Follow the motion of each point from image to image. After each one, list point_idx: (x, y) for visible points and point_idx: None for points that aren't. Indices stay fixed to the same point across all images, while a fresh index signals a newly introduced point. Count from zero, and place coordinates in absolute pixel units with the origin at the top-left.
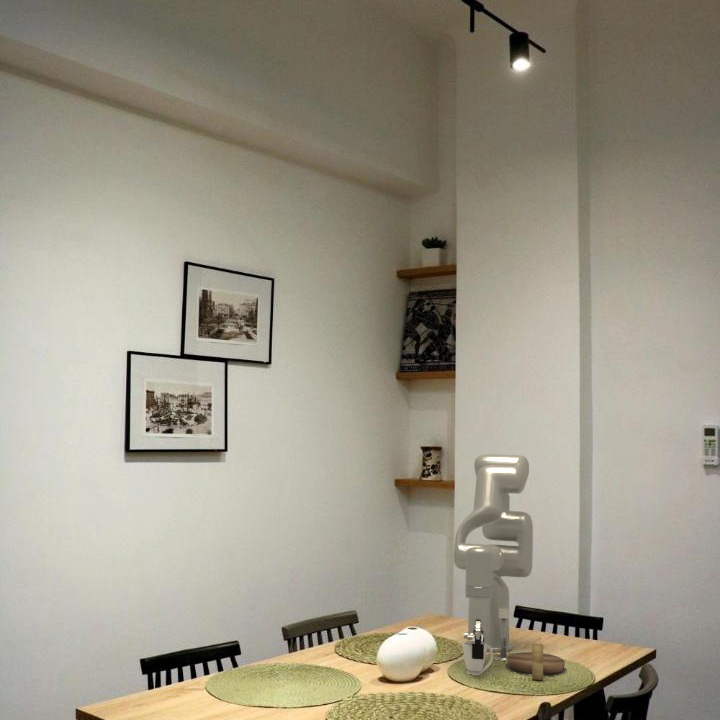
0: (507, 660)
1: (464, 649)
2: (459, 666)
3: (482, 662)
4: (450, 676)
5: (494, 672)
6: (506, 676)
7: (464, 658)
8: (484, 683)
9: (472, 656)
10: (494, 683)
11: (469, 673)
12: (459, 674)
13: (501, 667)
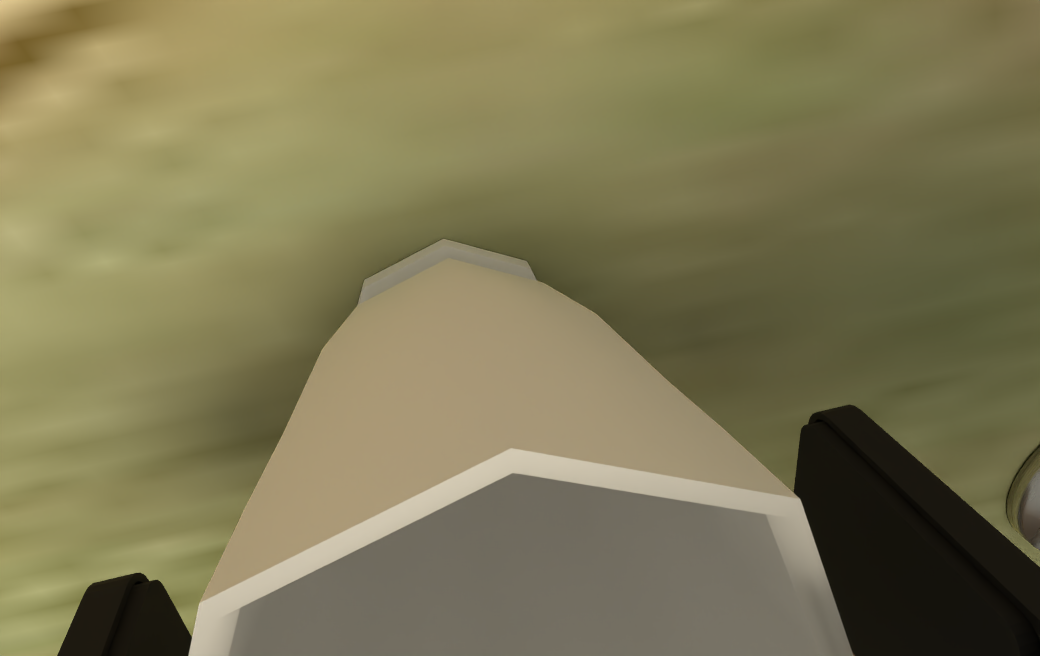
0: None
1: (326, 453)
2: (745, 67)
3: (412, 560)
4: (57, 36)
5: None
6: None
7: (436, 302)
8: (23, 547)
9: (84, 617)
10: None
11: (359, 303)
12: (278, 163)
13: None
